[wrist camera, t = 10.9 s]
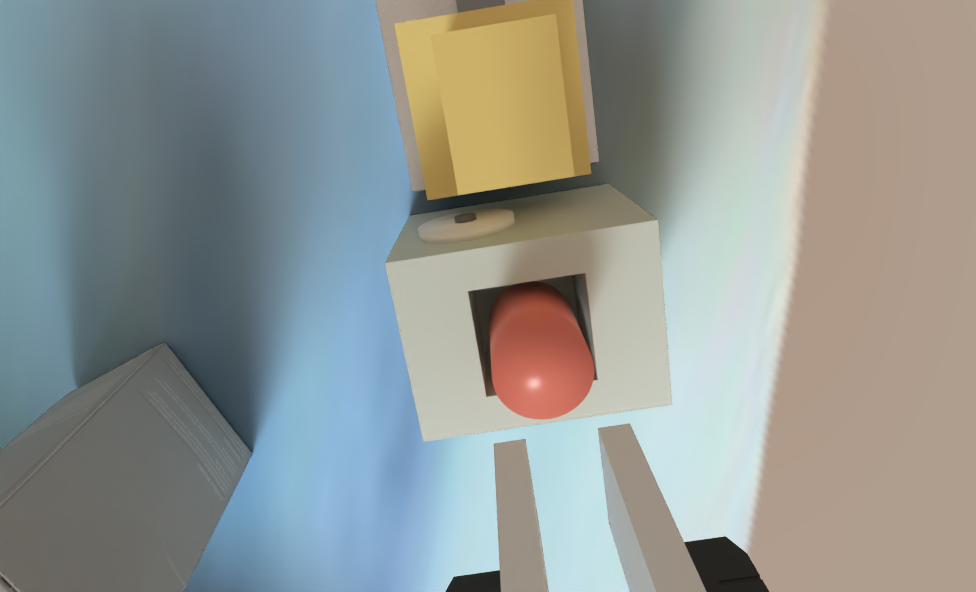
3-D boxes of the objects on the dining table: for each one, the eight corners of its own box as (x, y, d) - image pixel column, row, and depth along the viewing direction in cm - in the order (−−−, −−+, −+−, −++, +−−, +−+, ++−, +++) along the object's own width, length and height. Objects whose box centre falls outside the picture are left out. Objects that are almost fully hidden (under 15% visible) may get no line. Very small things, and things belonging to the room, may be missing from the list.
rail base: (414, 189, 32) (408, 197, 29) (345, -166, 27) (332, -191, 24) (596, 159, 31) (606, 166, 29) (558, -204, 27) (567, -234, 24)
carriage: (432, 188, 30) (408, 244, 20) (403, 30, 28) (358, -4, 17) (579, 164, 30) (636, 208, 19) (561, 3, 28) (614, -48, 17)
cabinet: (436, 352, 34) (423, 441, 26) (406, 203, 32) (381, 247, 23) (622, 324, 34) (672, 404, 25) (607, 171, 31) (656, 203, 23)
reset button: (495, 365, 27) (500, 426, 22) (482, 288, 26) (484, 334, 21) (577, 352, 26) (599, 411, 22) (567, 274, 25) (588, 318, 21)
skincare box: (72, 389, 35) (-240, 623, 20) (181, 331, 34) (-57, 529, 19) (167, 506, 37) (-45, 795, 22) (271, 455, 36) (125, 719, 21)
